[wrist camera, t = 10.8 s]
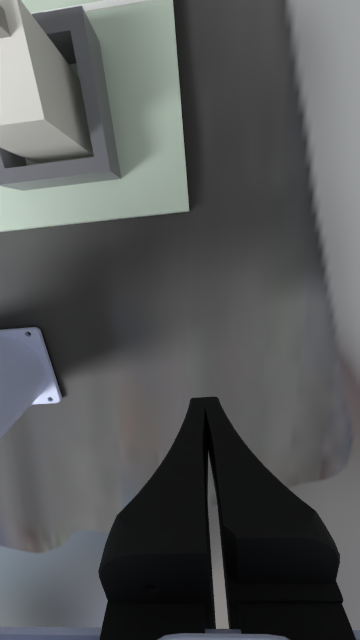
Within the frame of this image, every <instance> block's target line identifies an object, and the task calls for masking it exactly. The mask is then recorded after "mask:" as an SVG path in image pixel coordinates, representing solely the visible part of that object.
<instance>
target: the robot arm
mask: <svg viewBox="0 0 360 640" xmlns="http://www.w3.org/2000/svg"><path fill="white" fill-rule="evenodd" d="M28 332H30V333H31V335H30V334H28ZM50 397H51V398H52V399H51V398H50ZM61 399H62V396H61V393H60V390H59V386H58V383H57V380H56V377H55V374H54V371H53V368H52V364H51V361H50V358H49V355H48V352H47V349H46V346H45V343H44V339H43V336H42V333H41V331H40V329H39V328H37V327H28V328H16V329H3V330H0V439H1V438H2V437H3V435H4V434H5V433H6V432H7V431H8V430H9V429H10V428H11V427H12V425H13V424H14V423H15V422H16V421H17V420H18V419H19V418H20V417H21V415H22V414H23V413H24V412H25V411H26V410H27V409H28V408H29V406H30V405H31V404H46V403H58V402H60V401H61ZM208 451H209V457H210V463H211V469H212V474H213V480H214V486H215V491H216V498H217V505H218V513H219V525H220V536H221V545H222V557H223V568H224V578H225V589H226V599H227V610H228V622H229V629H216V625H215V608H214V594H213V580H212V564H211V549H210V534H209V519H208ZM339 564H340V554H339V552H338V549H337V547H336V545H335V542H334V540H333V539H332V537H331V535H330V533H329V531H328V530H327V528H326V526H325V525H324V523H323V522H322V520H321V518H320V517H319V515H318V514H317V512H316V511H315V510H314V509H312V508H311V507H310V506H309V505H307V504H306V503H305V502H303V501H302V500H301V499H300V498H298V497H297V496H296V495H295V494H294V493H293V492H291V491H290V490H289V489H288V488H287V487H286V486H285V485H283V484H282V483H281V482H280V481H279V480H278V479H277V478H276V477H275V476H274V475H273V474H272V473H271V472H270V471H269V470H268V469H267V468H266V467H265V466H264V465H263V464H262V463H261V462H260V461H259V460H258V459H257V457H256V456H255V455H254V454H253V453H252V452H251V450H250V449H249V448H248V447H247V445H246V444H245V443H244V442H243V440H242V439H241V437H240V436H239V435H238V433H237V432H236V430H235V429H234V427H233V426H232V424H231V423H230V421H229V419H228V418H227V416H226V414H225V412H224V410H223V408H222V406H221V404H220V402H219V399H218V398H217V397H202V398H192V399H191V400H190V404H189V408H188V411H187V414H186V417H185V419H184V422H183V424H182V427H181V429H180V431H179V433H178V435H177V437H176V439H175V441H174V443H173V445H172V447H171V449H170V450H169V452H168V454H167V455H166V457H165V458H164V460H163V462H162V463H161V464H160V466H159V467H158V469H157V470H156V472H155V473H154V474H153V476H152V477H151V478H150V480H149V481H148V482H147V483H146V484H145V486H144V487H143V488H142V489H141V490H140V492H139V493H138V494H137V495H136V496H135V497H134V498H133V499H132V501H131V502H130V503H129V504H128V505H127V506H126V507H125V508H124V509H123V510H122V511H121V512H120V513H119V514H118V515H117V517H116V519H115V521H114V523H113V526H112V528H111V531H110V533H109V536H108V539H107V541H106V545H105V548H104V552H103V555H102V560H101V563H100V567H99V578H100V581H101V583H102V586H103V589H104V591H105V594H106V597H107V599H108V603H107V607H106V612H105V617H104V621H103V625H102V628H74V627H0V640H360V630H352V628H351V625H350V623H349V620H348V618H347V615H346V613H345V610H344V608H343V606H342V603H343V598H342V595H341V592H340V590H339V587H338V585H337V583H336V577H337V573H338V568H339Z"/></svg>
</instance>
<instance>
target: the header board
mask: <svg viewBox="0 0 360 640" xmlns="http://www.w3.org/2000/svg"><path fill="white" fill-rule="evenodd" d="M21 1H22V2H23V4H24V5H25V6H26V8H27V9H28V10H29V12H30V13H31V14H32V16H33V17H34V19H35V20H36V21H37V23H38V24H39V25H40V27H41V28H42V29H43V31H44V32H45V33H46V35H47V36H48V37H49V39H50V40H51V41H52V43H53V44H54V45H55V47H56V48H57V49H58V51H59V52H60V53H61V55H62V56H63V57H64V59H65V60H66V61H67V63H68V64H69V65H70V67H71V68H72V69H73V71H74V72H75V73H76V75H77V76H78V77H79V79H80V84H81V90H82V95H83V100H84V106H85V111H86V116H87V122H88V127H89V132H90V138H91V143H92V148H93V154H94V156H91V157H82V158H74V159H66V160H58V161H49V162H41V163H36V162H33V161H31V160H29V159H26V158H24V157H21V156H19V155H17V154H14V153H12V152H9V151H7V150H5V149H2V148H0V232H7V231H16V230H25V229H34V228H43V227H53V226H62V225H71V224H80V223H89V222H98V221H107V220H117V219H126V218H135V217H144V216H153V215H162V214H171V213H180V212H189V201H188V188H187V175H186V162H185V149H184V137H183V124H182V111H181V98H180V85H179V73H178V60H177V47H176V34H175V21H174V9H173V0H21Z"/></svg>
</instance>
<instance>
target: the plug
mask: <svg viewBox="0 0 360 640" xmlns="http://www.w3.org/2000/svg"><path fill="white" fill-rule="evenodd" d="M0 148H2V149H5V150H7V151H9V152H12V153H14V154H17V155H19V156H21V157H24V158H26V159H29V160H31V161H33V162H36V163H41V162H49V161H58V160H66V159H74V158H82V157H91V156H94V154H93V148H92V143H91V138H90V132H89V127H88V122H87V116H86V111H85V106H84V100H83V95H82V90H81V84H80V79H79V77H78V76H77V75H76V73H75V72H74V71H73V69H72V68H71V67H70V65H69V64H68V63H67V61H66V60H65V59H64V57H63V56H62V55H61V53H60V52H59V51H58V49H57V48H56V47H55V45H54V44H53V43H52V41H51V40H50V39H49V37H48V36H47V35H46V33H45V32H44V31H43V29H42V28H41V27H40V25H39V24H38V23H37V21H36V20H35V19H34V17H33V16H32V14H31V13H30V12H29V10H28V9H27V8H26V6H25V5H24V4H23V2H22V1H21V0H0Z"/></svg>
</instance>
